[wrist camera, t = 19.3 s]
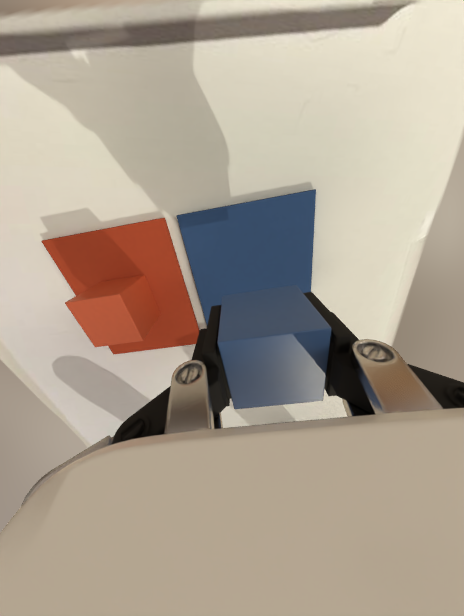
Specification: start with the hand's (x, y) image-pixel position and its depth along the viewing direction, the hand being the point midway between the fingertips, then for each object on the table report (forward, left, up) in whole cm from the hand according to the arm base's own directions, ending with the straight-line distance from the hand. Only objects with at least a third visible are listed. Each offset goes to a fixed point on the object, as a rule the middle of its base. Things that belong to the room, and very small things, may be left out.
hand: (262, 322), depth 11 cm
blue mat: (0, 0, -7) cm, 7 cm away
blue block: (0, 0, 0) cm, 0 cm away
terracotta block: (0, -11, -6) cm, 13 cm away
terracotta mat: (0, -11, -7) cm, 13 cm away
